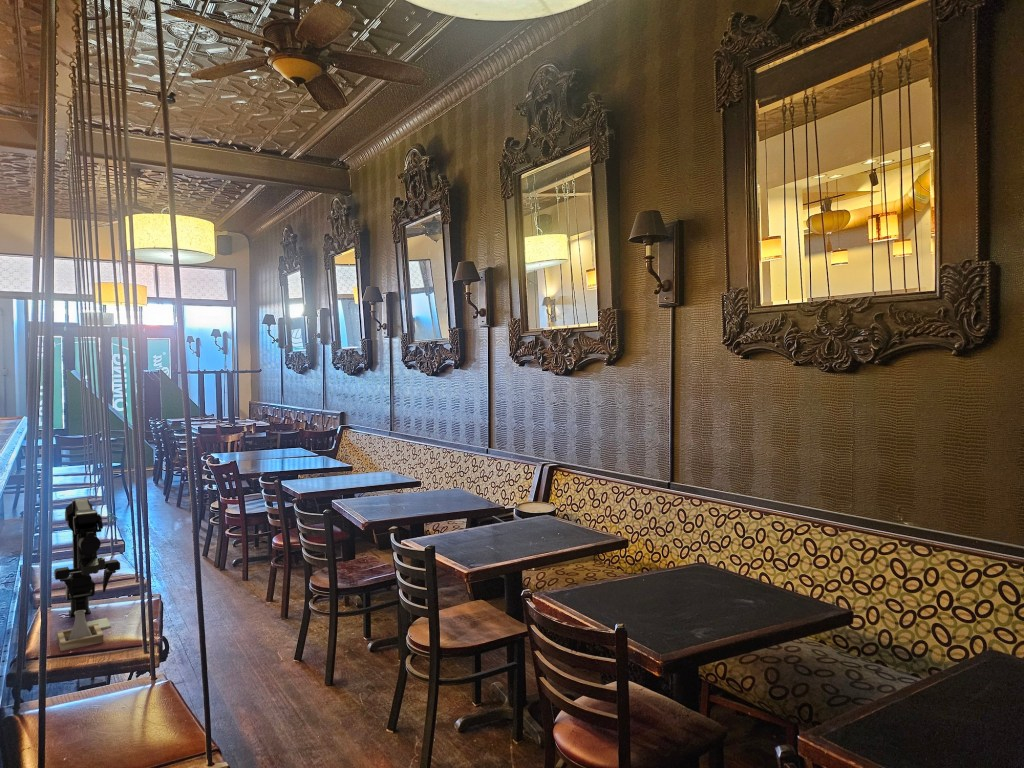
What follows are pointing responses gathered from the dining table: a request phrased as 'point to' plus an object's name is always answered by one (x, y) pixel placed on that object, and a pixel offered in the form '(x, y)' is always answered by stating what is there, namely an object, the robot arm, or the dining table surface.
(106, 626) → the sage pad
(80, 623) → the flask
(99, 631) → the oak cradle
